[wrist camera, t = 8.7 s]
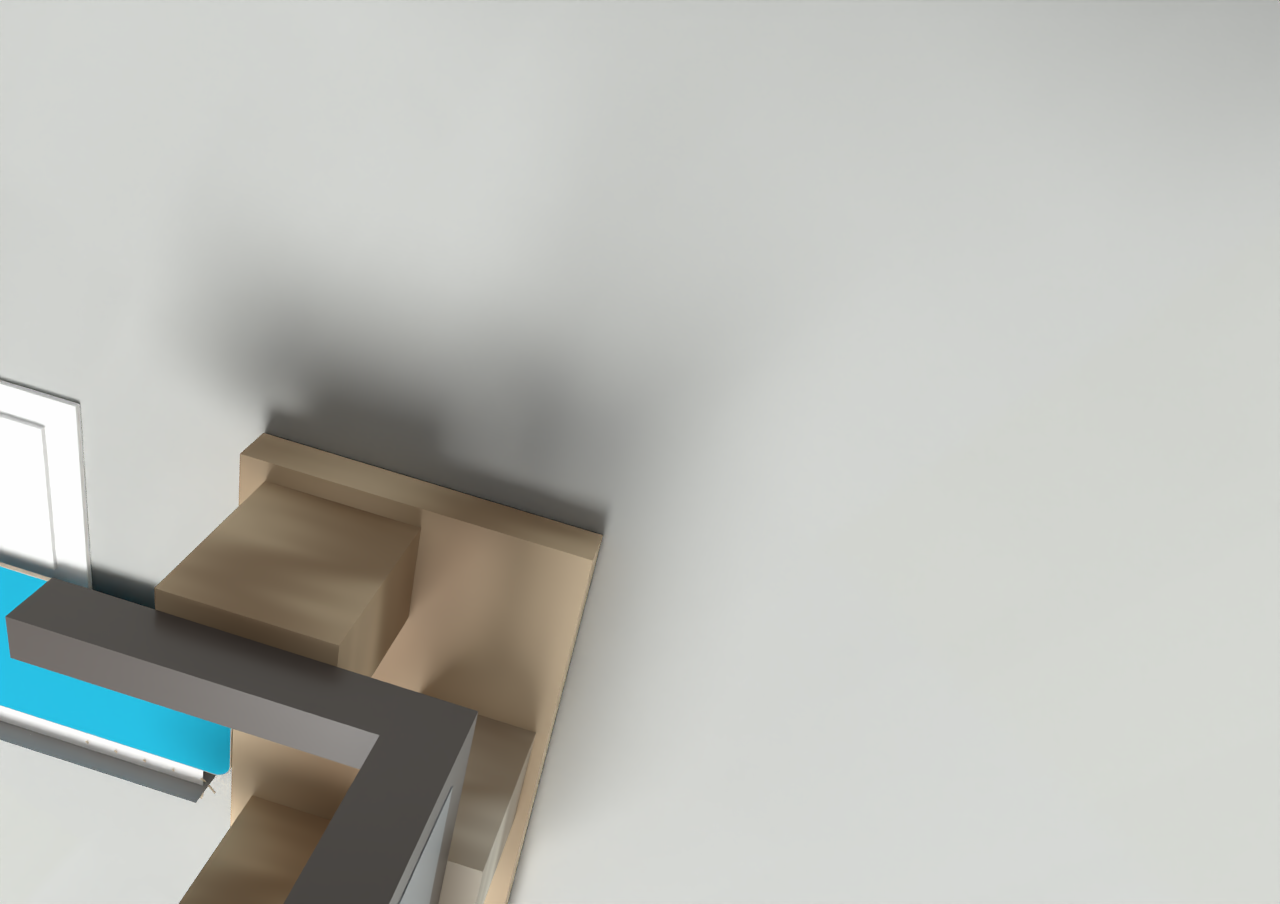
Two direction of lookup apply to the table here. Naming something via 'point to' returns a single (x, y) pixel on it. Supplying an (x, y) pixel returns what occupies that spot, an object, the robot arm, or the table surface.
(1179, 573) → the table surface
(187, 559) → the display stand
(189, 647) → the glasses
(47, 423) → the blue flat piece
